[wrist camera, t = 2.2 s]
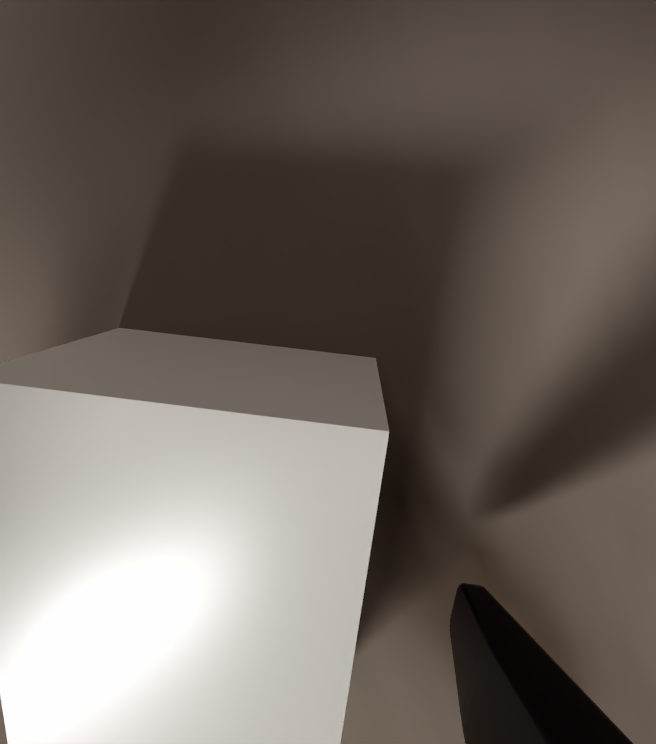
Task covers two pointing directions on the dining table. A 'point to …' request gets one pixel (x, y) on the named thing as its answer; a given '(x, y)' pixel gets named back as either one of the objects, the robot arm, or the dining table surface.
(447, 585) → the dining table surface
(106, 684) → the block
